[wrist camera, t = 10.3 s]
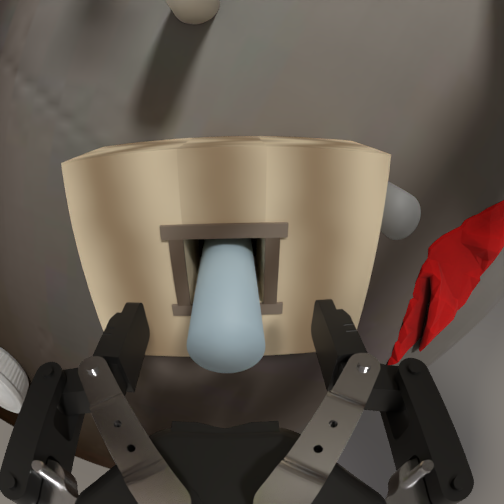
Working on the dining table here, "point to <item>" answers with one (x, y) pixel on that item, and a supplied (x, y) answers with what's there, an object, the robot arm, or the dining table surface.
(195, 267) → the hole block
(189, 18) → the medium pin
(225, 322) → the long pin
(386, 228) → the short pin
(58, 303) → the dining table surface
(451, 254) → the cloth
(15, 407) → the ramekin
